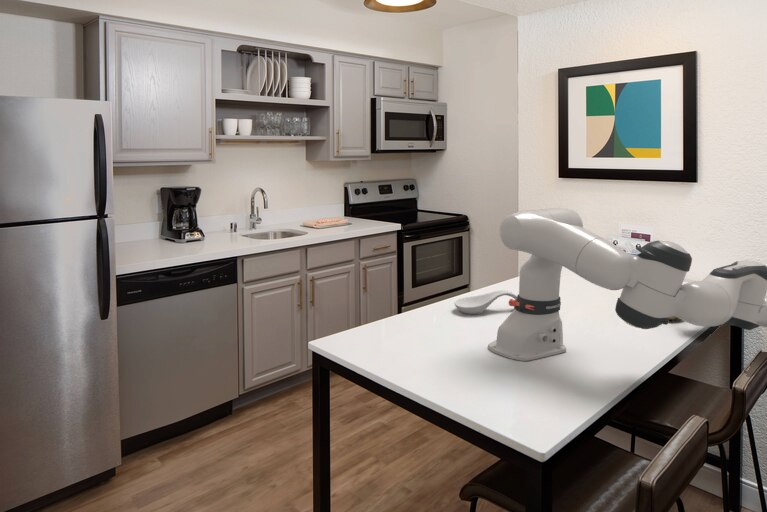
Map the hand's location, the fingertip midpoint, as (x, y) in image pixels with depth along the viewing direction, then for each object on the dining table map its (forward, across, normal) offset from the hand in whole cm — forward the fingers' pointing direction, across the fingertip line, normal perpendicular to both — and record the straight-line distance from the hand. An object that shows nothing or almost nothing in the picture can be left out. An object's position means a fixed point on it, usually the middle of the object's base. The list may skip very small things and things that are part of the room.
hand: (684, 292), depth 175 cm
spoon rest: (+41, -45, -10) cm, 62 cm away
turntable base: (+6, 0, -10) cm, 12 cm away
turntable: (+6, 0, -8) cm, 11 cm away
